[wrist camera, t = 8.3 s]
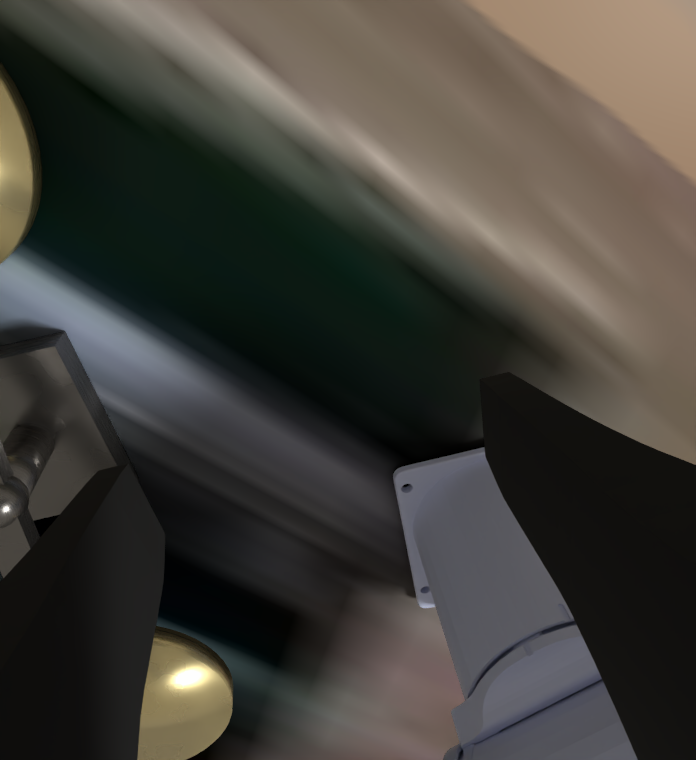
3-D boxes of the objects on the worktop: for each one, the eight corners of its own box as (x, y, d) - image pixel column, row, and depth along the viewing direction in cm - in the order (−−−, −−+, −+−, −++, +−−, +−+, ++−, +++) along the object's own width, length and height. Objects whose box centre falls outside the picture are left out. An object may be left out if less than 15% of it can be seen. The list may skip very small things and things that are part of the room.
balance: (258, 632, 30) (257, 768, 24) (90, 673, 30) (50, 819, 24) (-58, -86, 14) (-261, -172, 9) (-411, -9, 14) (-847, -48, 9)
